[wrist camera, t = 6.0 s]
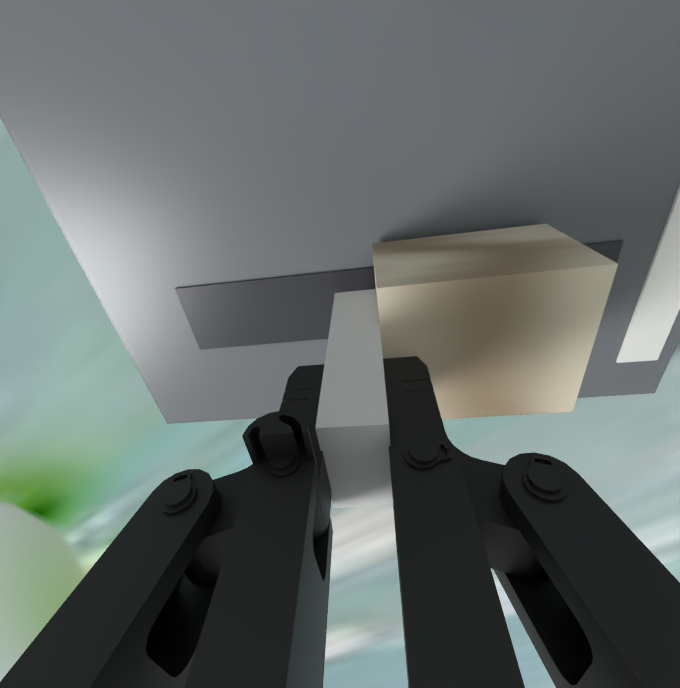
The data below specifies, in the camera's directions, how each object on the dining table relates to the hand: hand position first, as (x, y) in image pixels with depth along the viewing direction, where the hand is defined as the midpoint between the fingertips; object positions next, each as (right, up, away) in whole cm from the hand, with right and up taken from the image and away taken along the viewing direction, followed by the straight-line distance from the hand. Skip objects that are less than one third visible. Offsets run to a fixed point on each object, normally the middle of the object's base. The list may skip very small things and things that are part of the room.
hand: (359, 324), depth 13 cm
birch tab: (+4, +1, +1) cm, 4 cm away
